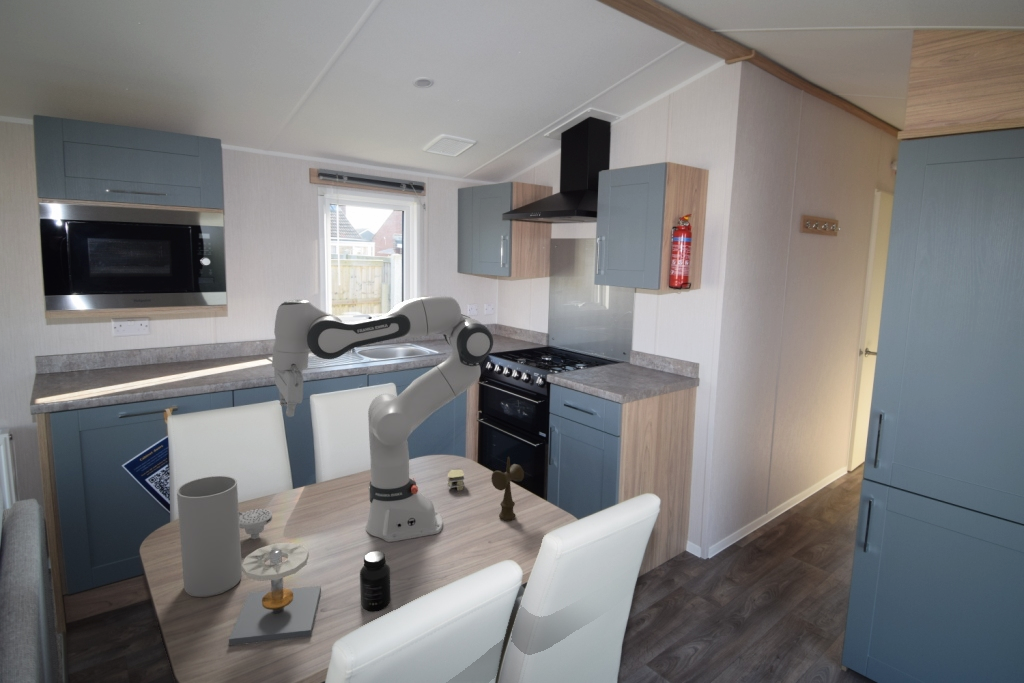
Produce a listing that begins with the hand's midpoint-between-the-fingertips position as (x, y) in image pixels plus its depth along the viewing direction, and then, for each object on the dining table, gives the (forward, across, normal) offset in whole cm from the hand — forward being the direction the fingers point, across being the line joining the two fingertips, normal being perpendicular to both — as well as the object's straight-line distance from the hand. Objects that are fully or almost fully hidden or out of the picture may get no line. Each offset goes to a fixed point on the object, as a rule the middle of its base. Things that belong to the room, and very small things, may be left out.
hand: (286, 410), depth 147 cm
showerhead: (+40, +7, +5) cm, 41 cm away
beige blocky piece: (+34, +10, -60) cm, 70 cm away
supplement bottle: (+35, -40, -15) cm, 55 cm away
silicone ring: (+25, -33, +6) cm, 41 cm away
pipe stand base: (+37, -33, +5) cm, 50 cm away
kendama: (+32, -18, -64) cm, 73 cm away
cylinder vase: (+40, -12, +16) cm, 45 cm away
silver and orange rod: (+36, -33, +5) cm, 49 cm away
